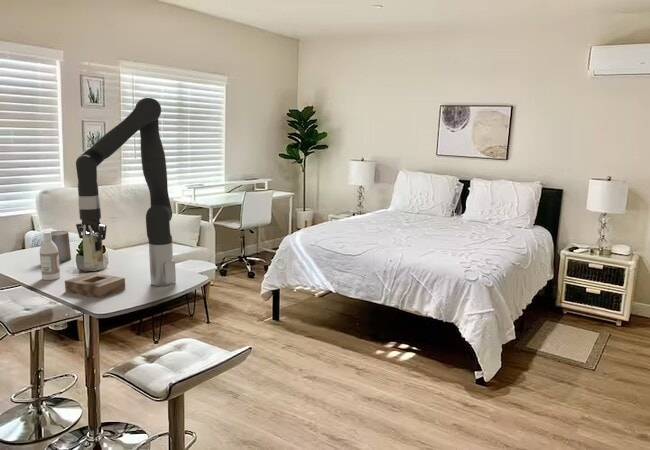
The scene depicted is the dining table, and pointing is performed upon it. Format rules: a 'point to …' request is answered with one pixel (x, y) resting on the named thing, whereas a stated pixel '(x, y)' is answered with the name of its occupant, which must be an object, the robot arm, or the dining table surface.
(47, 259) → the bath foam
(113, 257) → the dining table surface
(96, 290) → the walnut holder block
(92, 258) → the skincare box
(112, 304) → the dining table surface
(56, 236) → the pillar candle
